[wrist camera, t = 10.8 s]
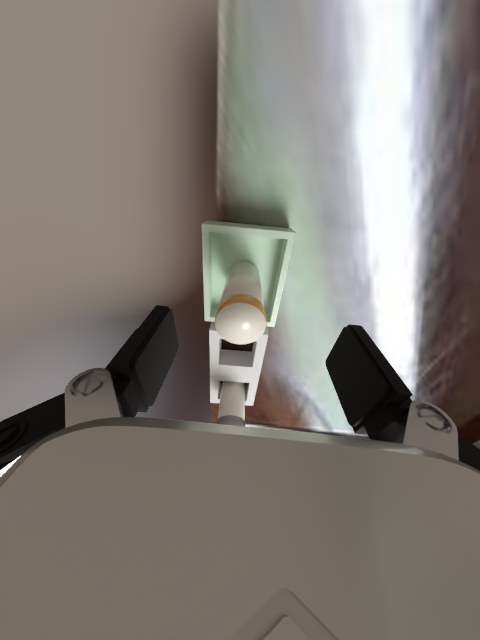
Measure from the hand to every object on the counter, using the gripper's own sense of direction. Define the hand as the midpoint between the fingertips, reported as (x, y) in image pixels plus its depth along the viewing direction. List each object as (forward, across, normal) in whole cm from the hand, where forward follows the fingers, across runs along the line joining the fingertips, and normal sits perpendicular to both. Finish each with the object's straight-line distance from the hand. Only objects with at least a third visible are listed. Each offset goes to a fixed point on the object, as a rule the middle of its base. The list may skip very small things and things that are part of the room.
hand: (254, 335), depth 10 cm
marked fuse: (+11, +1, +2) cm, 12 cm away
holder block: (+11, +1, +15) cm, 19 cm away
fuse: (+11, +1, +19) cm, 22 cm away
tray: (+12, +1, +2) cm, 12 cm away
